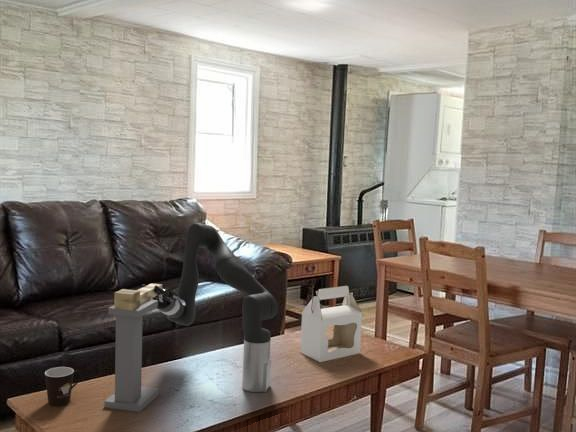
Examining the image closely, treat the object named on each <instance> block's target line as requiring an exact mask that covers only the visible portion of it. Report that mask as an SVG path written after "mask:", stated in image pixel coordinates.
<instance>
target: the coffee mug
mask: <svg viewBox="0 0 576 432" xmlns="http://www.w3.org/2000/svg"><path fill="white" fill-rule="evenodd" d="M82 372H83V371H81V370H78V369H76V370H74V368H72V367H67V366H58V367H51V368H49V369H47V370H45V372H44V377H45V386H46V395H47V403H48V405H49V406H50V407H63V406H66V405H68V404H70V403H71V396H72V390H73V389H74V388H75V387H76V386H77V385H78V384H79V382H80V380H81V379H82V377H83V373H82ZM76 373H79V378H78V379H77V380H76V382H74V384H73V380H74V374H76Z"/></svg>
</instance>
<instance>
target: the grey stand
mask: <svg viewBox="0 0 576 432" xmlns="http://www.w3.org/2000/svg"><path fill="white" fill-rule="evenodd" d="M156 307H158V300H151V299H150V300H148V301H146V302H144V303H142V304H140V307H138V308H136V309H134V310H124V309H114V305H111V306H110V307H108V309H107V310H108V315H112V316H113V315H114V316H115V358H114V360H115V361H114V364H115V365H114V368H115V369H114V372H115V373H114V393H113V394H112V395H110V396H109V397H107V398H106V399H105V400H104V401H103V402H104V404H103V405H104V406H103V408H106V409H107V408H108V409H114V410H123V411H129V412H136V413H141V411H143V410H144V409H145V408H146V407H147V406H148V405H149V404H151V402H153V400H155V399H156V398H157V397H158V396H159V395H160V388H154V387H147V386H142V368H143V365H142V364H143V362H142V361H143V315H146V314H147V313H149V312H151V311H152V310H154V309H157V308H156Z"/></svg>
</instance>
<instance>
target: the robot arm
mask: <svg viewBox="0 0 576 432" xmlns="http://www.w3.org/2000/svg"><path fill="white" fill-rule="evenodd" d="M199 248H202V249H205V250H207V251H208V252H209V254H210V255H211V256H212V257H213V259H214V269H215V271H216V273H217V274H218V276H219V277H220V278H221V280H222V281H223V282H224V284H226V285H228V287H231V288H233V289H234V290H237V291H239V292H240V293H242V294H245V295H246V297H244V299H243V301H242V307H241V309H242V310H241V312H242V317H241V318H242V332H243V355H242V356H243V358H242V382H241V383H242V384H241V385H242V389H243V390H244V391H246V392H250V393H262V392H263V393H267V391H268V390H269V388H270V387H271V378H272V377H271V375H272V374H271V373H272V360H271V359H270V358H271V336H272V334H271V331H270V330H269V329H266V328H263V327H261V321H266V320H269V319H273V318H274V317H275V316H276V315H277V314H278V311H279V310H278V309H279V308H278V303H277V301H276V298H275V296H274V295H273V294H272V293H271V292H270V291H269V290H267V288H265V287H264V285H262V284H261V283H260V282H259V281H258V280H257V279H256V278H255V277H254V275H253V274H252V273H251V272H250V271H249V270H248V269H247V267H245V265H244V264H243V263H242V261H241V260H240V259H239V258H238V257H237V256H236V255H235V254H234V252H233V251H232V250H231V248H230V247H229V246H228V245H227V244H226V243H225V241H224V239H223V238H222V236H221V235H220V233H219V232H218V230H217V229H216V228H215V227H214V226H212V225H209V224H206V223H205V224H204V223H202V222H201V223H200V222H193V223H192V224H190V225H189V226H188V229H187V231H186V235H185V243H184V253H183V265H182V272H181V277H180V281H179V285H178V290H177V293H175V292H173V291H171V290H170V289H167V288H163V287H162V288H159V287H158V286H155V287H154V292H155V293H156V294H157V296H155V297H153V298H151V299H150V300H158V307H156V308H155V309H157V310H158V311H159V312H161V313H162V314H163V315H166V319H168V320H169V321H171V322H173V323H176V324H179V325H182V326H187V327H188V326H191V325H192V324H193V322H194V321H195V318H196V296H197V291H198V287H199V284H200V283H199V282H200V273H199V269H198V263H197V253H198V249H199ZM145 286H147V285H146V284H141V286H140V289H141V288H143V287H145ZM179 299H180V300H182V301H183V302H184V304H185V305H183V302H181V301H180V300H179Z"/></svg>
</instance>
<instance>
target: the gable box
mask: <svg viewBox="0 0 576 432" xmlns="http://www.w3.org/2000/svg"><path fill="white" fill-rule="evenodd" d="M315 295H316V296H313V297H312V298H311V300H310V301H309V302H308V304H307V305H306V306H305V307H304V308H303V310H302V311H301V324H300V325H301V326H300V327H301V328H300V331H301V332H300V346H299V353H300V354H302V355H305V356H306V357H308V358H310V359H312V360H314V361H317V362H318V363H323V362H326V361H328V362H329V361H331V360H337V359H340V358H341V359H342V358H345V357H350V356H353V355H358V354H361V338H362V337H361V335H362V319H363V313H362V310H361V309H360V306H359V305H358V303H357V301H356V298H355V297H354V295H353V292H351V291H350V289H349V286H348V285H340V286H333V287H325V288H319V289H318V290H315ZM336 298H343V301H342V303H341V305H337V306H330V307H324V308H322V307H321V301H322V300H330V299H331V300H332V299H336ZM330 327H333V329H332V330H333V337H332V338H331V339H328V336H327V335H328V334H327V332H328V329H329V328H330Z"/></svg>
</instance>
